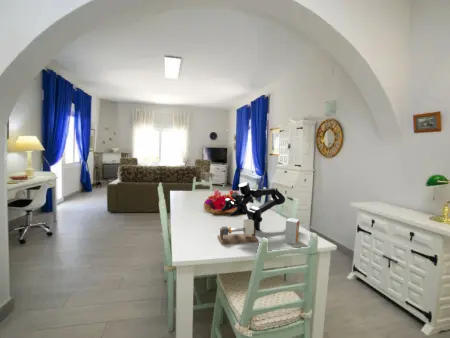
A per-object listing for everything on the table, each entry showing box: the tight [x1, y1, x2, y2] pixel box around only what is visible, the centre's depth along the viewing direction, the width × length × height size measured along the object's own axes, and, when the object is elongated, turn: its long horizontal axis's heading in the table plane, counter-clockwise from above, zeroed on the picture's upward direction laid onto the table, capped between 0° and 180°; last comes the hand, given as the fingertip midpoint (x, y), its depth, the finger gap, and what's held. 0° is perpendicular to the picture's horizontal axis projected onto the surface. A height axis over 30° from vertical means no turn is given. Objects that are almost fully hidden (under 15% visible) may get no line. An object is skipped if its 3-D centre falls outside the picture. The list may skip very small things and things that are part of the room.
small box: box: [284, 217, 300, 245], centre depth 140 cm, size 8×6×13 cm
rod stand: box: [216, 226, 260, 246], centre depth 140 cm, size 22×11×8 cm, turn 105°
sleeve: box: [242, 218, 254, 234], centre depth 142 cm, size 5×4×8 cm
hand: (225, 213), depth 145 cm, fingers open, 9 cm apart
